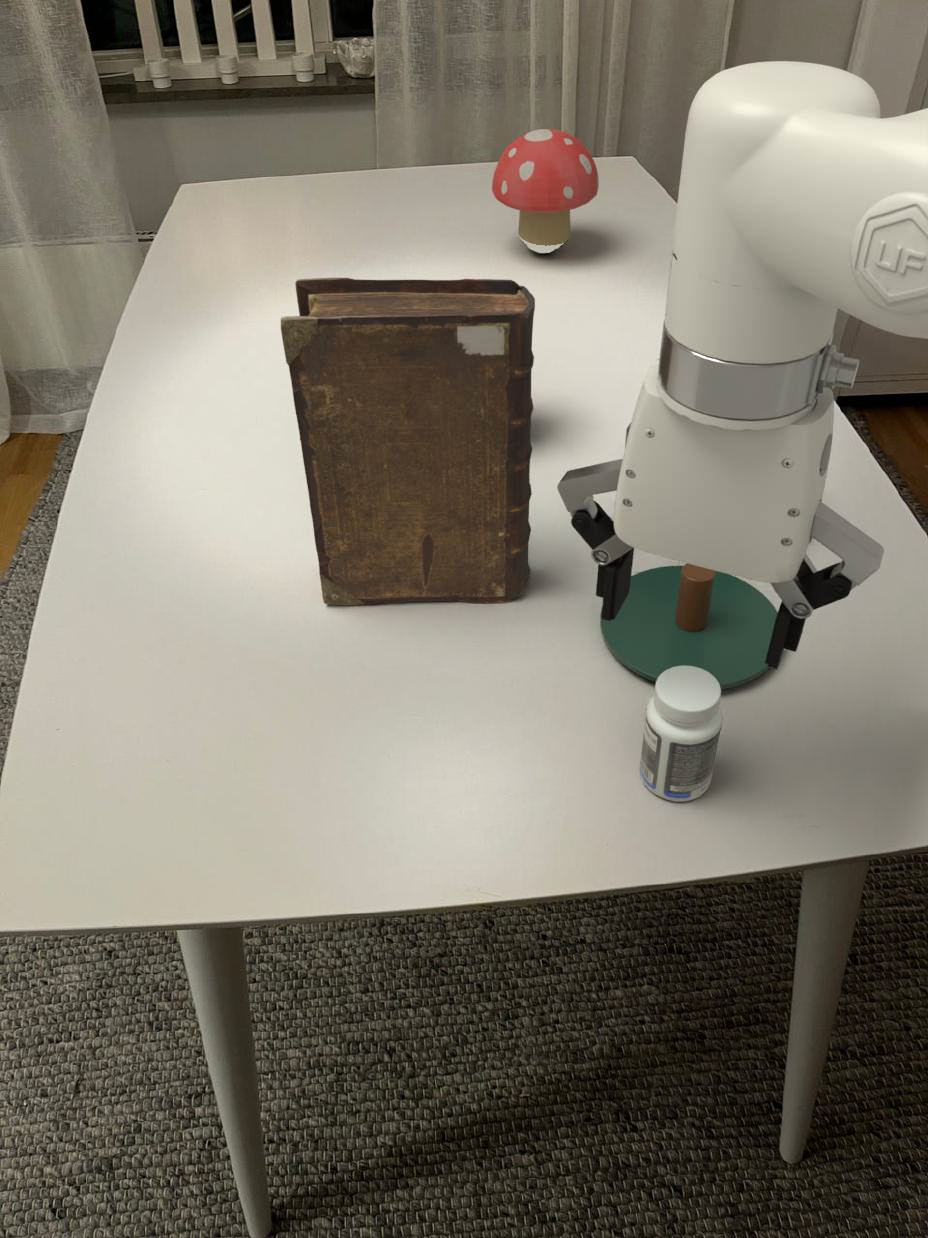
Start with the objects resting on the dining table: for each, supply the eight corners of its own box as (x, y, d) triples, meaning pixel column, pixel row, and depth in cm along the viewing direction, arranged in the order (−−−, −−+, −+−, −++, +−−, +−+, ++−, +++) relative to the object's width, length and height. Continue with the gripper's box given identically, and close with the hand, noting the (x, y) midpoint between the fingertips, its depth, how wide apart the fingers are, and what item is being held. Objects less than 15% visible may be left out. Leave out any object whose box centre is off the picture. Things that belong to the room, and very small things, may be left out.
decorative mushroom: (479, 241, 137) (476, 122, 127) (572, 227, 140) (576, 109, 130) (512, 280, 127) (512, 154, 117) (611, 264, 130) (619, 139, 120)
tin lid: (798, 601, 80) (813, 540, 76) (757, 719, 71) (771, 656, 67) (632, 559, 85) (638, 499, 81) (573, 664, 76) (577, 603, 72)
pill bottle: (721, 766, 68) (740, 677, 63) (693, 814, 65) (710, 726, 60) (656, 738, 70) (668, 650, 65) (626, 784, 67) (636, 696, 62)
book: (533, 565, 85) (538, 275, 68) (526, 621, 80) (529, 322, 63) (338, 554, 87) (296, 270, 70) (319, 609, 82) (269, 315, 65)
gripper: (943, 361, 48) (857, 629, 59) (594, 299, 53) (577, 554, 65) (922, 441, 43) (832, 717, 54) (539, 363, 48) (532, 627, 60)
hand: (693, 628), depth 59 cm, fingers open, 9 cm apart
